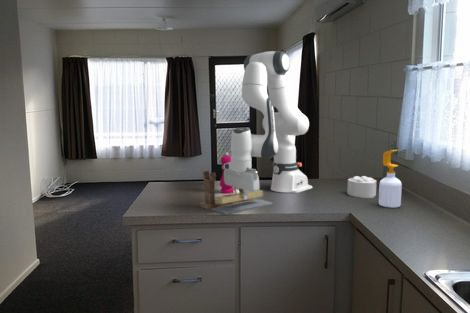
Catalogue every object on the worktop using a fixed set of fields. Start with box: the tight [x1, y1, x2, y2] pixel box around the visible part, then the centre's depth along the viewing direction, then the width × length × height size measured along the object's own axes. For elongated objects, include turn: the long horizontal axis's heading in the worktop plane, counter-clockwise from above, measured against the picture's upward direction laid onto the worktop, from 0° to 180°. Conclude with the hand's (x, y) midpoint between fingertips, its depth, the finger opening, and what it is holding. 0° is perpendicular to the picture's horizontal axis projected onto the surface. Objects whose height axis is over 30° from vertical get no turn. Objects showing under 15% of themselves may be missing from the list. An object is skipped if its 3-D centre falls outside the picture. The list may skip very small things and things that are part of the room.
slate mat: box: [212, 198, 274, 216], centre depth 187 cm, size 26×9×1 cm, turn 128°
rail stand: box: [198, 170, 254, 210], centre depth 194 cm, size 25×7×15 cm, turn 128°
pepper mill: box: [219, 151, 234, 195], centre depth 215 cm, size 7×7×20 cm
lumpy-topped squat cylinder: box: [346, 175, 377, 199], centre depth 209 cm, size 10×13×9 cm
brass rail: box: [217, 189, 264, 204], centre depth 186 cm, size 22×3×2 cm, turn 128°
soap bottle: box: [378, 149, 403, 209], centre depth 188 cm, size 9×9×25 cm
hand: (241, 198), depth 186 cm, fingers closed on brass rail, 3 cm apart
